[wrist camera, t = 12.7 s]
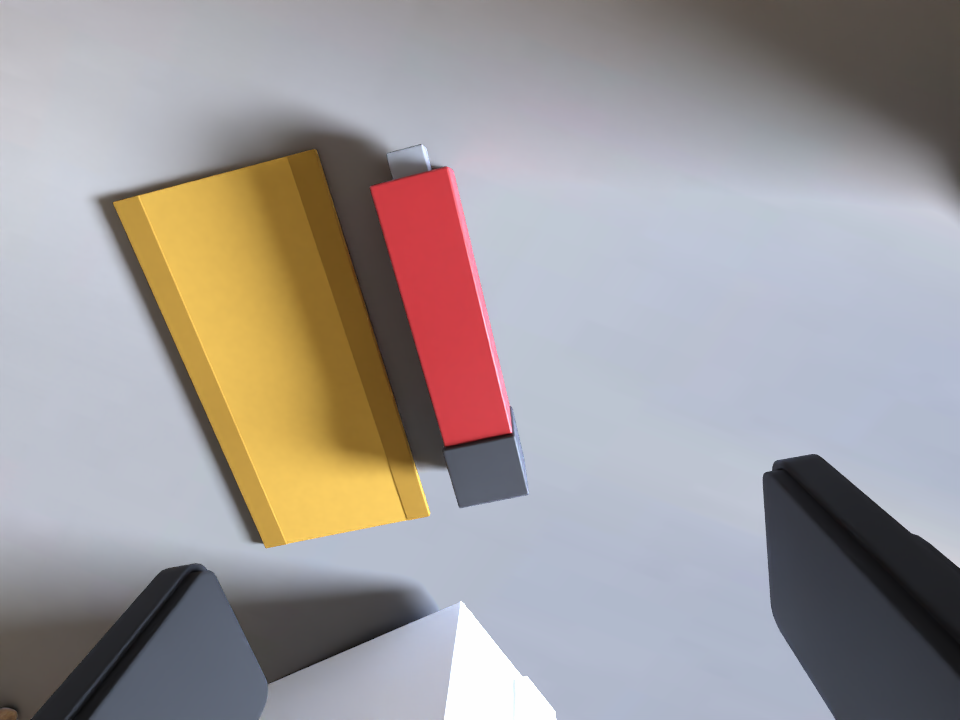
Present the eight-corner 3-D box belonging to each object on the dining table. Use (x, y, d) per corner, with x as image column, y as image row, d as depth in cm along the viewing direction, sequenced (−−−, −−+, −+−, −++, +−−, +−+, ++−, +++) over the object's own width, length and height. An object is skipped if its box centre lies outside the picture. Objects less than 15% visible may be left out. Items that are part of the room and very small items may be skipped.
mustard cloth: (316, 149, 21) (314, 148, 21) (430, 512, 27) (429, 516, 26) (117, 201, 22) (111, 202, 22) (268, 544, 27) (265, 548, 27)
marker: (449, 142, 21) (443, 134, 18) (524, 459, 26) (529, 495, 23) (374, 162, 21) (355, 157, 18) (462, 471, 26) (459, 509, 23)
